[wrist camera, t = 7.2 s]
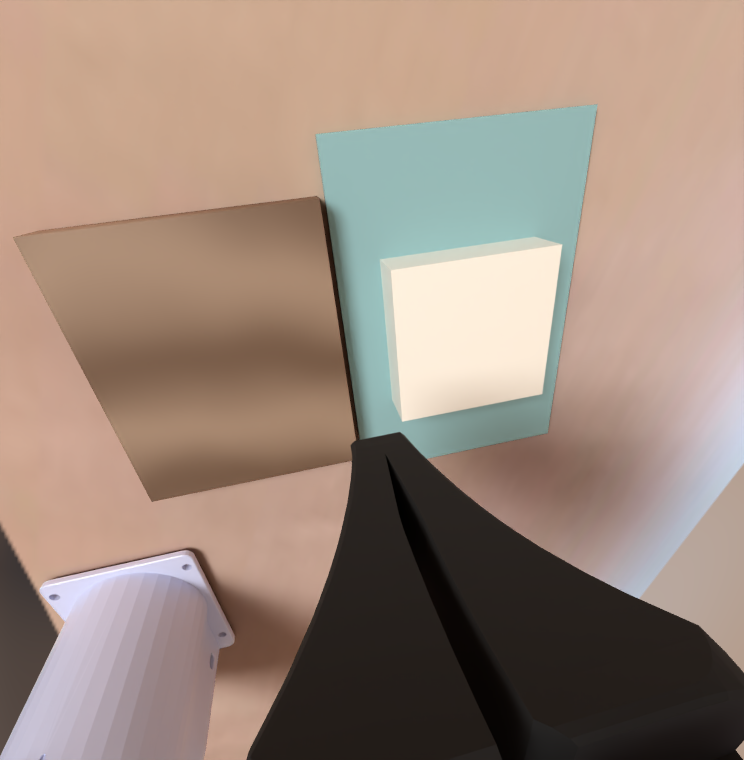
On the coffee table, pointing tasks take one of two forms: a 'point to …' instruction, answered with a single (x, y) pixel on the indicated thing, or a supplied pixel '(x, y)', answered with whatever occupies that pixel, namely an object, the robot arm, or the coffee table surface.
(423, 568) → the robot arm
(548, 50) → the coffee table surface
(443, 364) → the cream flat block
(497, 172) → the mat
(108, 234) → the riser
